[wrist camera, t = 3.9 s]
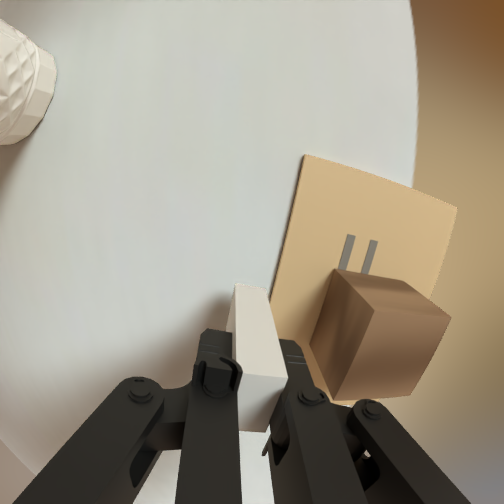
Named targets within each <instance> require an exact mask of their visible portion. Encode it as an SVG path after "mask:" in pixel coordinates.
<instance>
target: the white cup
mask: <svg viewBox="0 0 504 504" xmlns="http://www.w3.org/2000/svg"><path fill="white" fill-rule="evenodd" d="M56 77H57V70H56V66H55V61H54V57H53V56H52V55H51V54H49V53H48V52H47V51H45V50H44V49H42V48H41V47H39V46H37V45H36V44H34V43H33V42H32V41H31V40H30V39H29V37H27V36H26V35H24V34H22V33H21V32H20V31H18V30H17V29H16V28H14V27H12V26H10V25H8V24H7V23H6V22H5V21H3V20H2V19H0V145H9V144H15V143H17V142H18V141H20V140H22V139H23V138H25V137H27V136H28V135H30V133H31V132H32V131H33V129H34V128H35V127H36V126H37V124H38V123H39V122H40V121H41V119H42V118H43V117H44V114H45V112H46V110H47V108H48V105H49V103H50V101H51V99H52V97H53V94H54V88H55V82H56Z"/></svg>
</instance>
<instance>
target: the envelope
mask: <svg viewBox="0 0 504 504" xmlns="http://www.w3.org/2000/svg"><path fill="white" fill-rule="evenodd" d="M457 209H458V208H456V207H454V206H452V205H450V204H447V203H445V202H443V201H441V200H439V199H436V198H433V197H431V196H429V195H427V194H424V193H422V192H419V191H416V190H414V189H412V188H409V187H406V186H404V185H401V184H398V183H396V182H393V181H390V180H387V179H385V178H382V177H379V176H376V175H373V174H370V173H367V172H364V171H361V170H358V169H355V168H352V167H348V166H345V165H342V164H339V163H335V162H332V161H328V160H325V159H321V158H318V157H314V156H310V155H306V154H305V155H304V159H303V163H302V168H301V172H300V177H299V181H298V186H297V190H296V195H295V199H294V203H293V208H292V212H291V216H290V221H289V225H288V229H287V233H286V238H285V242H284V246H283V250H282V254H281V258H280V262H279V266H278V270H277V274H276V278H275V282H274V286H273V290H272V294H271V298H270V302H269V304H270V308H271V312H272V316H273V320H274V324H275V328H276V331H277V335H278V339H286V340H294V341H295V342H296V343H297V344H298V345H299V346H300V347H301V349H302V351H303V354H304V358H305V360H306V364H307V365H308V368H309V371H310V374H311V377H312V379H313V382H314V385H315V387H317V388H319V389H321V390H322V391H324V392H325V393H326V394H327V396H328V397H329V399H330V402H331V403H334V404H337V405H353V404H355V403H356V401H359V400H347V401H333V399H332V397H331V395H330V392H329V390H328V387H327V385H326V383H325V380H324V378H323V376H322V373H321V371H320V369H319V366H318V364H317V362H316V359H315V357H314V355H313V352H312V350H311V348H310V345H309V343H310V340H311V338H312V335H313V332H314V329H315V326H316V323H317V321H318V318H319V315H320V312H321V309H322V306H323V303H324V300H325V296H326V293H327V290H328V287H329V284H330V281H331V277H332V274H333V271H334V268H335V269H341V270H346V271H352V272H357V273H363V274H369V275H374V276H380V277H385V278H391V279H397V280H402V281H404V282H406V283H407V284H408V285H410V286H411V287H413V288H414V289H415V290H417V291H418V292H419V293H421V294H422V295H423V296H425V297H426V298H427V299H429V300H430V297H431V295H432V292H433V289H434V287H435V284H436V281H437V278H438V275H439V273H440V270H441V267H442V263H443V261H444V257H445V254H446V251H447V248H448V244H449V241H450V237H451V233H452V229H453V226H454V222H455V218H456V213H457ZM371 400H375V401H377V402H379V400H380V399H371Z"/></svg>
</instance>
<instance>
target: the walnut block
mask: <svg viewBox="0 0 504 504" xmlns="http://www.w3.org/2000/svg"><path fill="white" fill-rule="evenodd" d="M450 320H451V317H450V316H449V315H448V314H447V313H445V312H444V311H443V310H442V309H440V308H439V307H438V306H436V305H435V304H434V303H433V302H431V301H430V300H429V299H427V298H426V297H425V296H423V295H422V294H421V293H419V292H418V291H417V290H415V289H414V288H413V287H411V286H410V285H408V284H407V283H406V282H404V281H402V280H397V279H391V278H385V277H380V276H374V275H369V274H363V273H357V272H352V271H346V270H341V269H335V268H334V271H333V274H332V277H331V281H330V284H329V287H328V290H327V293H326V296H325V300H324V303H323V306H322V309H321V312H320V315H319V318H318V321H317V323H316V326H315V329H314V332H313V335H312V338H311V340H310V343H309V345H310V348H311V350H312V352H313V355H314V357H315V359H316V362H317V364H318V366H319V369H320V371H321V373H322V376H323V378H324V380H325V383H326V385H327V387H328V390H329V392H330V395H331V397H332V399H333V401H347V400H361V399H380V398H390V397H400V396H409V395H411V393H412V391H413V390H414V388H415V387H416V385H417V383H418V381H419V380H420V378H421V376H422V375H423V373H424V371H425V369H426V368H427V366H428V364H429V362H430V360H431V359H432V357H433V355H434V353H435V351H436V349H437V347H438V345H439V343H440V341H441V339H442V336H443V335H444V333H445V330H446V329H447V326H448V324H449V322H450Z"/></svg>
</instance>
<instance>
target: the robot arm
mask: <svg viewBox="0 0 504 504" xmlns="http://www.w3.org/2000/svg"><path fill="white" fill-rule="evenodd" d="M269 424H270V431H271V434H270V436H269V438H268V441H267V443H266V445H265V447H264V449H263V451H262V456H265V455H266V453H267V451H268V455H269V463H270V471H271V479H272V487H273V495H274V503H275V504H471V503H470V502H469V501H468V500H467V499H466V497H465V496H464V495H463V494H462V493H461V492H460V491H459V489H458V488H457V487H456V486H455V485H454V484H453V483H452V482H451V481H450V479H449V478H448V477H447V476H446V475H445V474H444V473H443V472H442V471H441V469H440V468H439V467H438V466H437V465H436V464H435V463H434V461H433V460H432V459H431V458H430V457H429V456H428V455H427V454H426V452H425V451H424V450H423V449H422V448H421V447H420V446H419V445H418V443H417V442H416V441H415V440H414V439H413V438H412V437H411V436H410V434H409V433H408V432H407V431H406V430H405V429H404V428H403V426H402V425H401V424H400V423H399V422H398V421H397V420H396V419H395V417H394V416H393V415H392V414H391V413H390V412H389V411H388V410H387V408H386V407H384V406H383V405H382V404H381V403H379V402H377V401H375V400H371V399H361V400H359V401H356V403H355V404H354V406H353V407H352V408H351V407H346V406H342V405H337V404H334V403H331V402H330V399H329V397H328V396H327V394H326V393H325V392H324V391H322V390H321V389H319V388H317V387H315V385H314V382H313V379H312V377H311V374H310V371H309V368H308V365H307V364H306V360H305V358H304V354H303V351H302V349H301V347H300V346H299V345H298V344H297V343H296V342H295V341H294V340H286V339H278V335H277V331H276V328H275V324H274V320H273V316H272V312H271V308H270V304H269V300H268V296H267V292H266V288H260V287H254V286H248V285H243V284H237V283H235V287H234V292H233V297H232V301H231V306H230V311H229V316H228V321H227V325H226V330H225V331H219V330H213V329H208V328H207V329H206V330H205V331H204V332H203V333H202V334H201V336H200V342H199V347H198V353H197V358H196V362H195V364H194V369H193V376H192V380H191V381H190V383H189V384H187V385H185V386H184V387H181V388H177V389H162V388H161V386H160V385H159V384H158V383H156V382H155V381H153V380H151V379H148V378H145V377H131V378H127V379H125V380H123V381H122V382H121V383H119V385H118V386H117V387H116V388H115V389H114V390H113V391H112V392H111V393H110V394H109V396H108V397H107V398H106V399H105V400H104V401H103V402H102V403H101V404H100V405H99V407H98V408H97V409H96V410H95V411H94V412H93V413H92V414H91V415H90V417H89V418H88V419H87V420H86V421H85V422H84V423H83V424H82V425H81V427H80V428H79V429H78V430H77V431H76V432H75V433H74V434H73V435H72V437H71V438H70V439H69V440H68V441H67V442H66V443H65V444H64V446H63V447H62V448H61V449H60V450H59V451H58V452H57V453H56V455H55V456H54V457H53V458H52V459H51V460H50V461H49V462H48V464H47V465H46V466H45V467H44V468H43V469H42V470H41V472H40V473H39V474H38V475H37V476H36V477H35V478H34V479H33V481H32V482H31V483H30V484H29V485H28V486H27V487H26V489H25V490H24V491H23V492H22V493H21V494H20V495H19V497H18V498H17V499H16V500H15V501H14V502H13V504H133V502H134V500H135V498H136V497H137V495H138V493H139V491H140V490H141V488H142V486H143V484H144V483H145V481H146V479H147V477H148V476H149V474H150V472H151V470H152V469H153V467H154V465H155V463H156V462H157V460H158V458H159V456H160V455H161V453H162V451H164V450H179V449H182V450H181V457H180V465H179V472H178V480H177V489H176V497H175V504H242V492H241V472H240V449H239V431H250V432H264V433H265V432H266V430H267V428H268V426H269ZM366 450H367V451H368V453H369V454H370V455H371V456H370V457H367V456H366V455H365V454H364V452H365V451H366Z"/></svg>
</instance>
